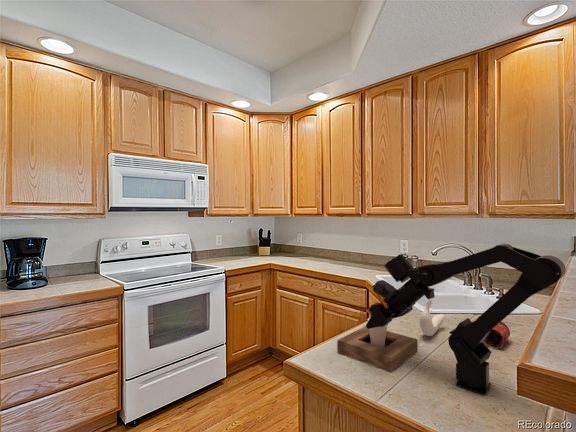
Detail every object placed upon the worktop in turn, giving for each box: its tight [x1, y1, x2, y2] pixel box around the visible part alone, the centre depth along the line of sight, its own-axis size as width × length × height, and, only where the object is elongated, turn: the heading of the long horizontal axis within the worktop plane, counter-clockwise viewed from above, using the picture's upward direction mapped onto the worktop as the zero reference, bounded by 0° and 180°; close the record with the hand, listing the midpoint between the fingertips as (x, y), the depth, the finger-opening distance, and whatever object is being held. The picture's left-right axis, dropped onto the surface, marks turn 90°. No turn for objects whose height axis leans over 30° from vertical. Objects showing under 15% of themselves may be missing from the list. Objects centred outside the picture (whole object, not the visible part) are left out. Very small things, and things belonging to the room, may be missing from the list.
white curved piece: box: [419, 298, 446, 337], centre depth 113 cm, size 5×19×15 cm, turn 141°
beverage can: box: [483, 321, 511, 350], centre depth 105 cm, size 7×12×7 cm, turn 134°
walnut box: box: [336, 325, 419, 373], centre depth 98 cm, size 18×18×4 cm
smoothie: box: [366, 317, 389, 348], centre depth 98 cm, size 6×6×14 cm
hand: (374, 323), depth 99 cm, fingers open, 9 cm apart
